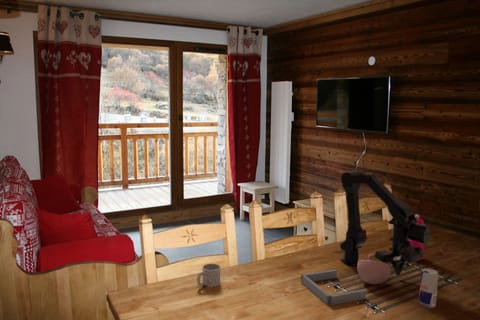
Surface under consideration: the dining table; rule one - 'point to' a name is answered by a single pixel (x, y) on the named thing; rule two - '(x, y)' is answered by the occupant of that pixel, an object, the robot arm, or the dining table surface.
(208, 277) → the mug
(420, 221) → the pepper mill
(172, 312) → the dining table surface
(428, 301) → the energy drink
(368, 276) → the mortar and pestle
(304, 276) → the grey frame
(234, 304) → the dining table surface
